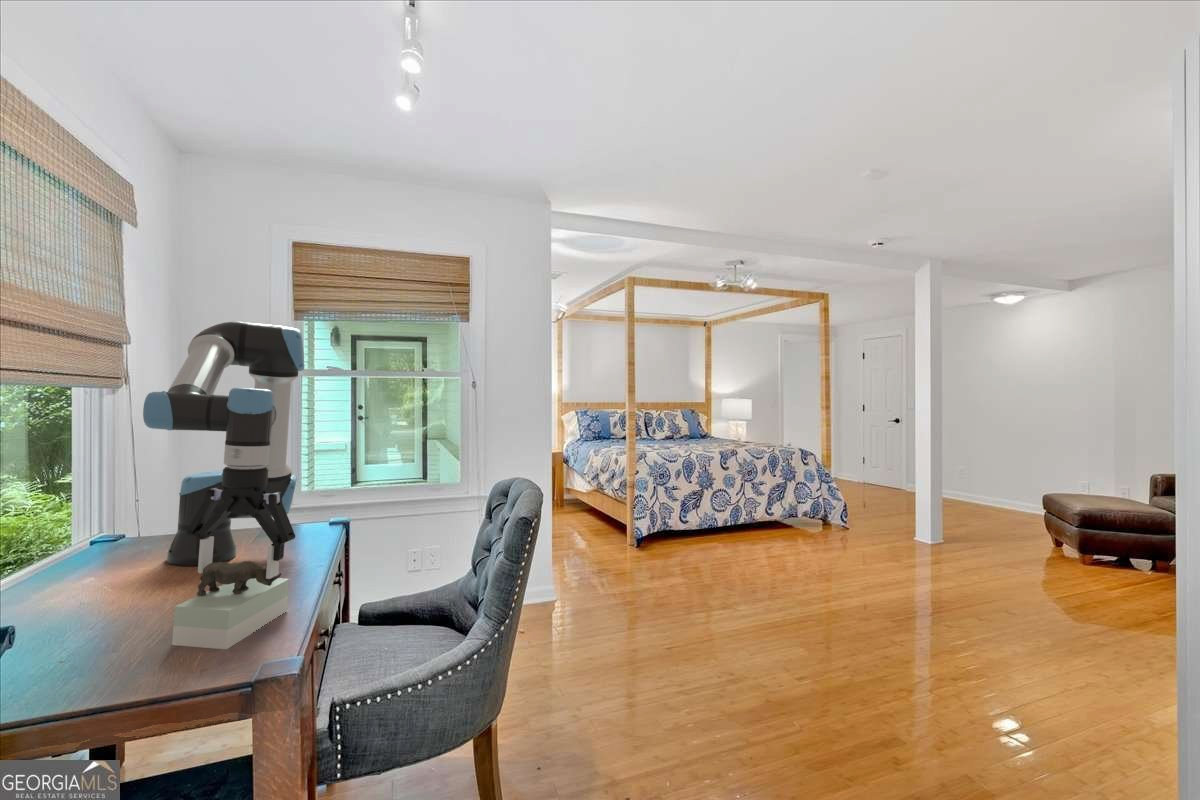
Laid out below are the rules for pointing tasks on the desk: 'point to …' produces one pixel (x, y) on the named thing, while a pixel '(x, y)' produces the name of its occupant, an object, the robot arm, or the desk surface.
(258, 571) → the rhino figurine
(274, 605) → the block
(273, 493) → the robot arm
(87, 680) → the desk surface
